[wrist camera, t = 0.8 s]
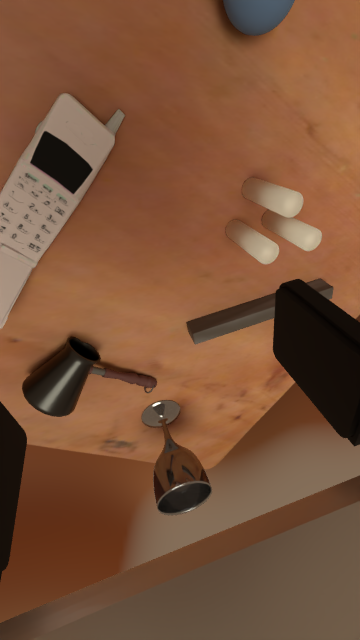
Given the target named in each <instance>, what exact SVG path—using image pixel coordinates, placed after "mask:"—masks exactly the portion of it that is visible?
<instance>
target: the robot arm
mask: <svg viewBox="0 0 360 640" xmlns="http://www.w3.org/2000/svg"><path fill="white" fill-rule="evenodd" d="M273 352H274V355H275V357H276V359H277V360H278V361H279V362H280V364H281V365H282V366H283V367H284V369H285V370H286V371H287V372H288V373H289V375H290V376H291V377H292V378H293V379H294V381H295V382H296V383H297V384H298V386H299V387H300V388H301V389H302V390H303V391H304V393H305V394H306V395H307V396H308V397H309V399H310V400H311V401H312V403H313V404H314V405H315V406H316V407H317V408H318V410H319V411H320V412H321V413H322V415H323V416H324V417H325V418H326V419H327V421H328V422H329V423H330V424H331V426H333V428H334V429H335V430H336V432H337V433H338V434H339V435H340V436H341V437H343V438H348V440H350V442H351V443H352V444H353V445H354V446H357V445H359V444H360V322H358V321H357V320H356V319H354V318H353V317H351V316H350V315H349V314H347V313H346V312H345V311H343V310H342V309H341V308H339V307H338V306H336V305H335V304H334V303H332V302H331V301H330V300H328V299H327V298H325V297H324V296H323V295H321V294H320V293H319V292H317V291H316V290H315V289H313V288H312V287H310V286H309V285H308V284H306V283H305V282H304V281H302V280H300V279H295V280H292V281H289V282H285V283H282V284H281V285H280V288H279V289H278V290H277V291H276V295H275V316H274V337H273ZM26 445H27V437H26V433H25V431H24V430H23V428H22V427H21V426H20V425H19V424H18V422H17V421H16V420H15V419H14V417H13V416H12V415H11V414H10V413H9V411H8V410H7V409H6V408H5V406H4V405H3V404H2V403H1V402H0V580H1V574H2V571H3V570H5V569H6V567H7V565H8V562H9V557H10V550H11V544H12V537H13V530H14V524H15V517H16V511H17V504H18V498H19V490H20V484H21V478H22V471H23V464H24V458H25V451H26ZM0 640H360V476H357V477H355V478H352V479H350V480H347V481H345V482H342V483H340V484H337V485H335V486H333V487H330V488H328V489H325V490H323V491H320V492H318V493H315V494H313V495H310V496H308V497H305V498H303V499H300V500H298V501H296V502H293V503H290V504H288V505H285V506H283V507H281V508H278V509H276V510H273V511H271V512H268V513H266V514H263V515H261V516H258V517H256V518H253V519H251V520H248V521H246V522H244V523H241V524H239V525H236V526H234V527H232V528H229V529H226V530H224V531H222V532H219V533H217V534H214V535H212V536H209V537H207V538H204V539H202V540H200V541H197V542H195V543H192V544H190V545H187V546H185V547H182V548H180V549H178V550H175V551H173V552H170V553H168V554H166V555H163V556H161V557H158V558H156V559H153V560H151V561H148V562H146V563H143V564H141V565H139V566H136V567H134V568H131V569H129V570H127V571H124V572H122V573H119V574H117V575H114V576H112V577H110V578H107V579H105V580H102V581H100V582H98V583H95V584H93V585H90V586H88V587H86V588H83V589H81V590H78V591H76V592H74V593H71V594H69V595H66V596H64V597H61V598H59V599H57V600H54V601H52V602H49V603H47V604H45V605H42V606H40V607H37V608H35V609H33V610H30V611H28V612H25V613H23V614H20V615H18V616H16V617H14V618H11V619H9V620H6V621H4V622H2V623H0Z"/></svg>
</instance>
